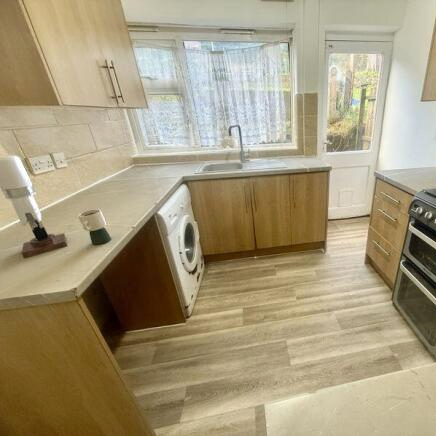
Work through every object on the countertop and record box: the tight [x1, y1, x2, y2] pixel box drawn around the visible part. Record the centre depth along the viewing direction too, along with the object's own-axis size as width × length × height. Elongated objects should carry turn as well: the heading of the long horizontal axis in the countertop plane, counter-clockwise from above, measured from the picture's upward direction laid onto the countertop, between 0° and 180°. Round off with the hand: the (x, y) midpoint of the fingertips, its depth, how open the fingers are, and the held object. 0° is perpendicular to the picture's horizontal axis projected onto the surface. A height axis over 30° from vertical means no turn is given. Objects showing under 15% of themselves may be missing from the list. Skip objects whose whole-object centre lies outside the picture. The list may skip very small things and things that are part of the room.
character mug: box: [77, 208, 112, 246], centre depth 94 cm, size 11×7×13 cm, turn 11°
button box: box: [21, 232, 68, 259], centre depth 94 cm, size 12×10×4 cm
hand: (42, 237), depth 93 cm, fingers closed
